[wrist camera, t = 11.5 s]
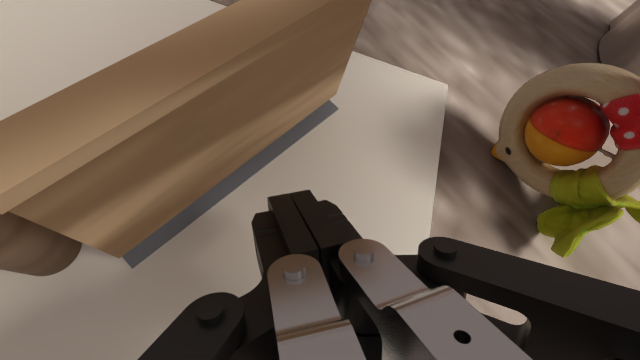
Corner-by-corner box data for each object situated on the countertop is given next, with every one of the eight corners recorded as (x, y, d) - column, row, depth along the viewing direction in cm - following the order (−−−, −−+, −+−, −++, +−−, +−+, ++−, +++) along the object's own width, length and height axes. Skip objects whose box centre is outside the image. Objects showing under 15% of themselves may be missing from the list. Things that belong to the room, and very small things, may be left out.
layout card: (19, -59, 20) (11, -72, 19) (443, 90, 22) (449, 83, 21) (-470, 388, 10) (-518, 392, 10) (378, 588, 12) (385, 604, 11)
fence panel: (100, 235, 13) (-62, 151, 7) (320, 79, 18) (360, -61, 12) (122, 263, 13) (-19, 205, 6) (339, 97, 18) (391, -35, 11)
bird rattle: (447, 191, 22) (593, 299, 17) (513, 15, 13) (846, 123, 8) (504, 149, 24) (648, 233, 19) (591, -23, 16) (887, 44, 11)
